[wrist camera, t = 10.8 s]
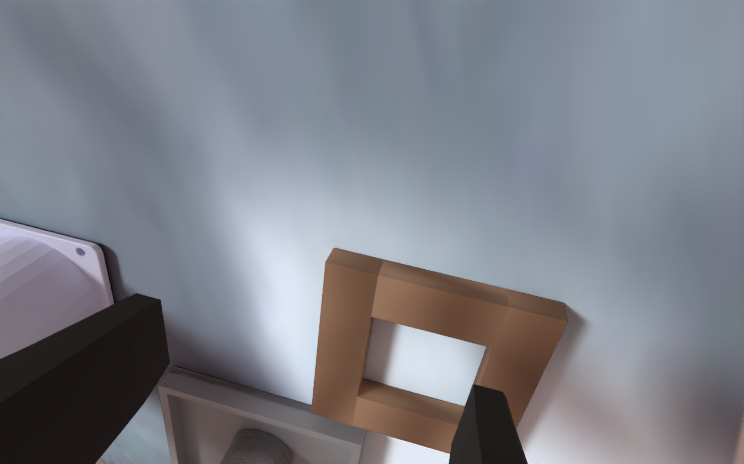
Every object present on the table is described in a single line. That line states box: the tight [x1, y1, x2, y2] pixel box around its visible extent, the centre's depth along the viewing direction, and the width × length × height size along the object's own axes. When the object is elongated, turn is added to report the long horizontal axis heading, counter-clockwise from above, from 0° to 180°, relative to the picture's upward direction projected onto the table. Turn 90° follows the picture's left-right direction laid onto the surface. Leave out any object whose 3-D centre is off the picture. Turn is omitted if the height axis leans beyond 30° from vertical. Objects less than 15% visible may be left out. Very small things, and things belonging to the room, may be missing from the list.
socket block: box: [311, 248, 568, 454], centre depth 21 cm, size 10×10×1 cm
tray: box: [158, 366, 366, 464], centre depth 28 cm, size 12×10×2 cm
